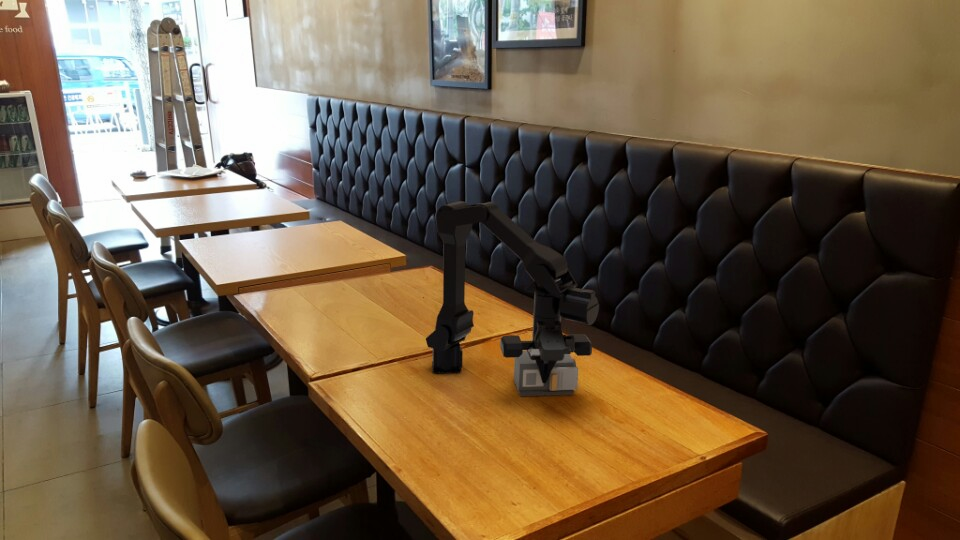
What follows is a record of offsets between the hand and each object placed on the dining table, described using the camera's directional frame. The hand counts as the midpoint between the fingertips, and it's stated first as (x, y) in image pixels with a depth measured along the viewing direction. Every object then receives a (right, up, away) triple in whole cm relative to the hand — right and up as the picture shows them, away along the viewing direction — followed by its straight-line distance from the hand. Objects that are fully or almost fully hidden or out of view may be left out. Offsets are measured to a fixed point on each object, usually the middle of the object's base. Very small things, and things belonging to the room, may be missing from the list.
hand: (543, 382), depth 145 cm
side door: (+5, -2, +2) cm, 5 cm away
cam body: (0, -2, +7) cm, 7 cm away
